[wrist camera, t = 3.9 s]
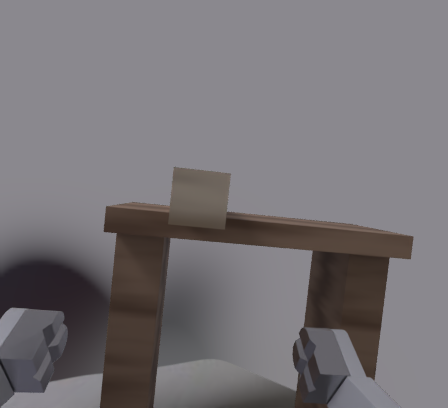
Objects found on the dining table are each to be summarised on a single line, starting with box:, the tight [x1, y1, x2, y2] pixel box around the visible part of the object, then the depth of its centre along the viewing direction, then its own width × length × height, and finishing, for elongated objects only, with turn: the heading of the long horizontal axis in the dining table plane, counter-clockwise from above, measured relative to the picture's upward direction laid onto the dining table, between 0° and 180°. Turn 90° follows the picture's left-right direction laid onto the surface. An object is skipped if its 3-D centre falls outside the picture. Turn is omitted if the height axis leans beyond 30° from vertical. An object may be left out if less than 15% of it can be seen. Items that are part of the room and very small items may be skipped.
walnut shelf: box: [100, 202, 413, 408], centre depth 29 cm, size 10×26×26 cm, turn 96°
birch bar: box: [168, 167, 231, 230], centre depth 25 cm, size 20×3×3 cm, turn 6°
